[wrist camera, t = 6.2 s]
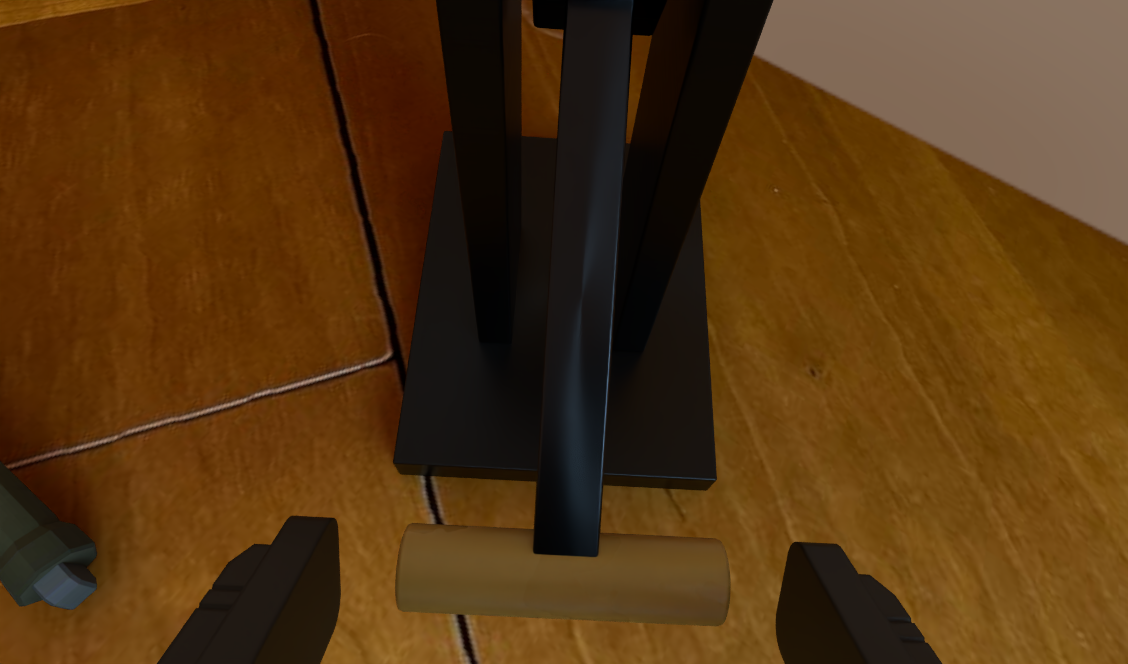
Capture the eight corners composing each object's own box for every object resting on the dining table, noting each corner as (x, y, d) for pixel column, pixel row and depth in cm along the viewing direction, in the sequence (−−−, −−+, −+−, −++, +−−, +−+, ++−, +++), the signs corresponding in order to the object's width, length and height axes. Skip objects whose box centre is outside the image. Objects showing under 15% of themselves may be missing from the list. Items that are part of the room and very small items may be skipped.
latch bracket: (707, 491, 20) (1043, 144, 7) (399, 474, 20) (168, 83, 7) (690, 169, 26) (865, -365, 13) (446, 153, 26) (367, -410, 12)
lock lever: (702, 592, 13) (735, 658, 11) (414, 578, 13) (385, 641, 11) (754, -113, 13) (803, -208, 10) (450, -138, 12) (427, -239, 10)
